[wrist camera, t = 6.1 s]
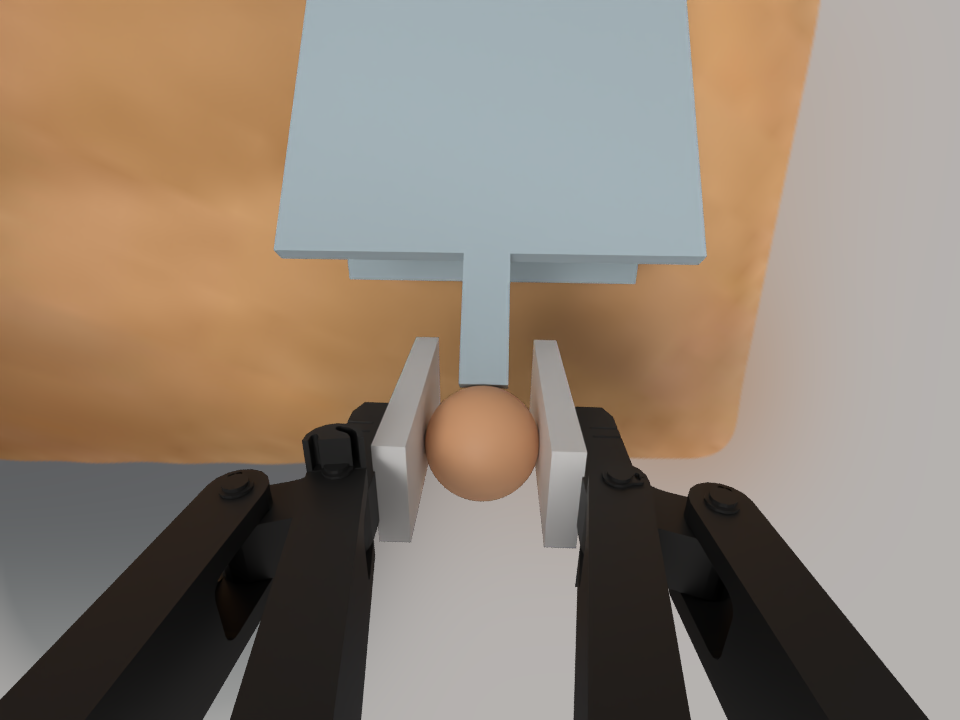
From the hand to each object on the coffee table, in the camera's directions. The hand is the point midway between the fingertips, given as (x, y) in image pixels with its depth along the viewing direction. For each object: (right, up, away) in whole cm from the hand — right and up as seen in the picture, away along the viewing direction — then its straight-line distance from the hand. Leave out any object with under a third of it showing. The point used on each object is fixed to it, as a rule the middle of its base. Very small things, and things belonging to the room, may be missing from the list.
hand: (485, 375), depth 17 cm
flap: (0, +6, 0) cm, 6 cm away
